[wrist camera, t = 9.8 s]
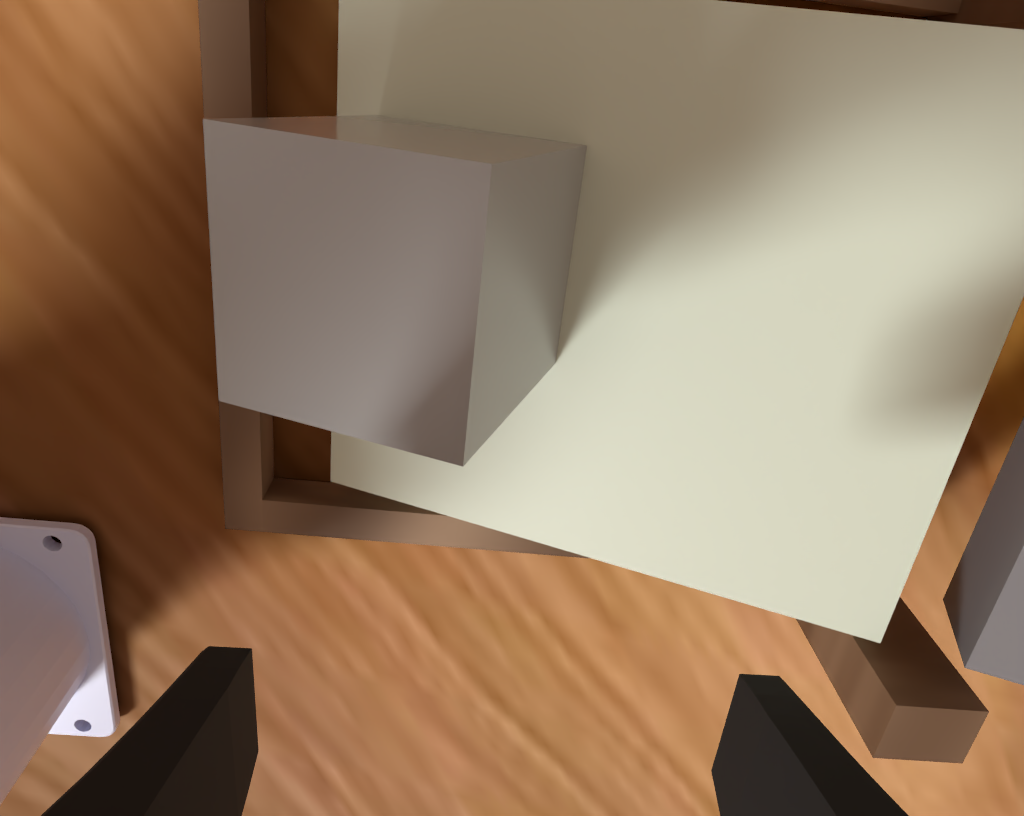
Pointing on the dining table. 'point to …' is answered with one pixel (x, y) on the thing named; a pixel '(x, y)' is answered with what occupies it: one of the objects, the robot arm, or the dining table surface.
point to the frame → (365, 516)
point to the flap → (741, 292)
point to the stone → (387, 273)
